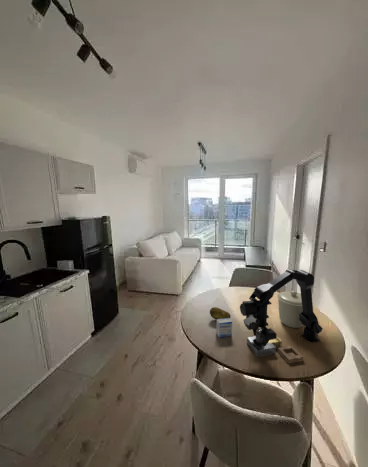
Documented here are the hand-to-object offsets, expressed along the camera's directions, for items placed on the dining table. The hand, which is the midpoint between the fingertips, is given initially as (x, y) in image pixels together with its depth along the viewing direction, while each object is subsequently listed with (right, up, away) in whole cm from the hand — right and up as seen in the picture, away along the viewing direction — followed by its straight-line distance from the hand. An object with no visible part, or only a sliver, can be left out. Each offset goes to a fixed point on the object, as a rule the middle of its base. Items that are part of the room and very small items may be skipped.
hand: (259, 340), depth 108 cm
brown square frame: (+13, -5, -5) cm, 15 cm away
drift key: (+7, -4, +2) cm, 8 cm away
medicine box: (-16, -3, +13) cm, 21 cm away
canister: (+28, -1, +23) cm, 36 cm away
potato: (-16, -1, +27) cm, 31 cm away
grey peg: (0, -5, +1) cm, 5 cm away
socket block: (+1, -5, +1) cm, 5 cm away
